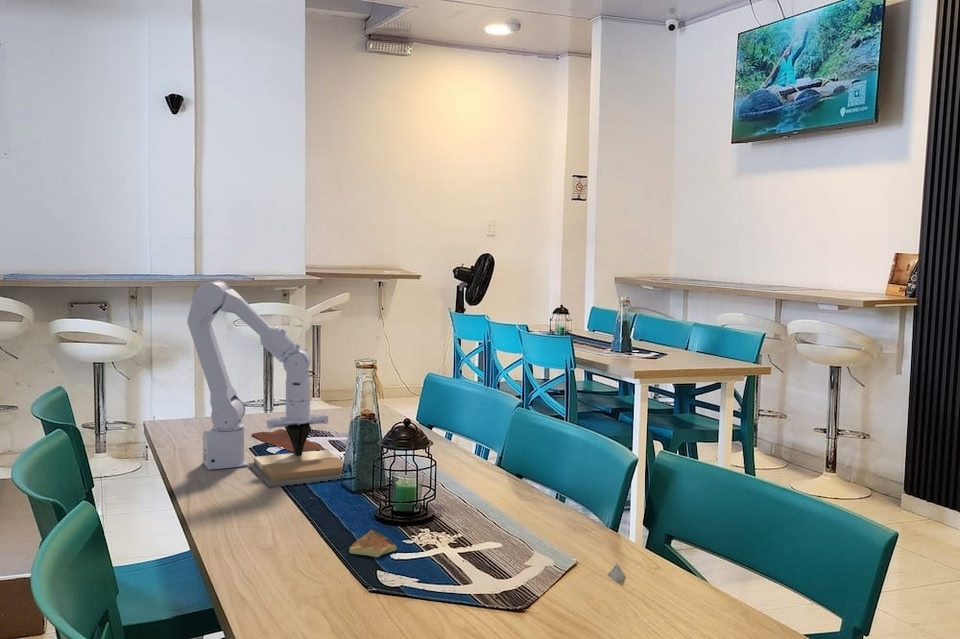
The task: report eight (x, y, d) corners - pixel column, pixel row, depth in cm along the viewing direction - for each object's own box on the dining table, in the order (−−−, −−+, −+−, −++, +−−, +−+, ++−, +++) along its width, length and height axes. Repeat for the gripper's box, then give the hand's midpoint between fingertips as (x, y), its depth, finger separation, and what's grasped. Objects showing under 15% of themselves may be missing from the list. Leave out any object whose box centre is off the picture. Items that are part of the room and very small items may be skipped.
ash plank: (262, 471, 203) (262, 464, 203) (254, 463, 210) (254, 456, 210) (337, 463, 211) (337, 457, 211) (326, 455, 219) (326, 449, 218)
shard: (372, 536, 166) (372, 526, 166) (410, 540, 164) (410, 531, 164) (347, 555, 156) (347, 545, 156) (387, 561, 154) (387, 551, 153)
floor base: (269, 487, 194) (269, 477, 193) (249, 466, 210) (249, 456, 210) (355, 477, 203) (355, 467, 203) (330, 458, 220) (330, 448, 219)
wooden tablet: (248, 437, 242) (248, 431, 242) (282, 433, 248) (282, 427, 248) (294, 457, 222) (294, 451, 221) (329, 452, 228) (329, 445, 228)
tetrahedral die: (613, 579, 150) (609, 562, 150) (627, 578, 148) (622, 560, 148) (602, 585, 147) (597, 567, 147) (615, 584, 145) (611, 566, 146)
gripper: (272, 404, 205) (272, 462, 206) (332, 400, 212) (332, 455, 213) (264, 399, 211) (264, 455, 212) (323, 395, 218) (323, 449, 219)
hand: (298, 454), depth 213 cm, fingers closed, pressing on ash plank
